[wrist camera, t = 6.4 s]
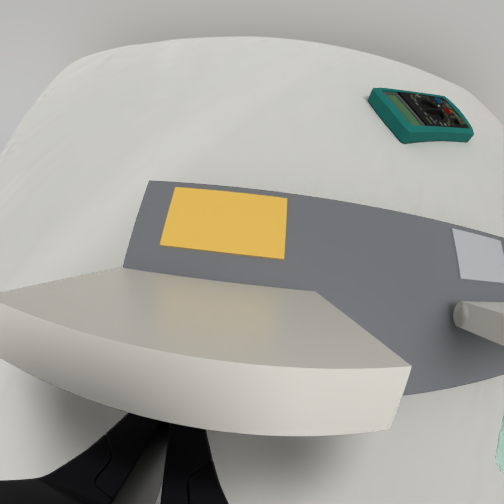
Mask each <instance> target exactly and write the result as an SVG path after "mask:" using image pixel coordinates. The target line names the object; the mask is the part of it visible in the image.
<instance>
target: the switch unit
mask: <svg viewBox="0 0 504 504" xmlns="http://www.w3.org/2000/svg"><path fill="white" fill-rule="evenodd" d="M123 268H127V269H134V270H141V271H147V272H154V273H161V274H169V275H176V276H183V277H191V278H199V279H206V280H214V281H223V282H231V283H240V284H248V285H257V286H266V287H276V288H286V289H296V290H306V291H315V292H317V293H318V294H319V295H321V296H322V297H323V298H325V299H326V300H327V301H329V302H330V303H331V304H332V305H334V306H335V307H336V308H338V309H339V310H340V311H342V312H343V313H344V314H345V315H347V316H348V317H349V318H351V319H352V320H353V321H354V322H356V323H357V324H358V325H360V326H361V327H362V328H364V329H365V330H366V331H367V332H369V333H370V334H371V335H373V336H374V337H375V338H376V339H378V340H379V341H380V342H382V343H383V344H384V345H385V346H387V347H388V348H389V349H391V350H392V351H393V352H394V353H396V354H397V355H398V356H400V357H401V358H402V359H403V360H405V361H406V362H407V363H409V364H410V365H411V366H412V367H411V371H410V374H409V377H408V380H407V383H406V386H405V389H404V392H403V395H411V394H418V393H424V392H431V391H436V390H442V389H447V388H452V387H457V386H461V385H466V384H470V383H474V382H478V381H482V380H486V379H490V378H493V377H497V376H500V375H503V374H504V346H502V345H500V344H497V343H495V342H493V341H490V340H488V339H486V338H483V337H481V336H479V335H476V334H474V333H472V332H469V331H467V330H465V329H462V328H460V327H457V326H455V323H454V320H453V312H454V309H455V307H456V305H457V304H458V303H459V302H460V301H474V302H504V238H502V237H499V236H495V235H492V234H488V233H485V232H481V231H477V230H474V229H470V228H466V227H462V226H458V225H454V224H450V223H446V222H442V221H438V220H434V219H429V218H425V217H420V216H416V215H411V214H406V213H402V212H397V211H392V210H387V209H382V208H377V207H371V206H366V205H360V204H355V203H349V202H343V201H337V200H331V199H324V198H318V197H311V196H304V195H297V194H290V193H282V192H274V191H266V190H258V189H249V188H239V187H230V186H219V185H208V184H195V183H182V182H166V181H149V183H148V186H147V188H146V191H145V194H144V197H143V200H142V203H141V206H140V209H139V212H138V215H137V219H136V222H135V225H134V228H133V232H132V235H131V239H130V242H129V246H128V249H127V253H126V257H125V261H124V265H123ZM403 395H402V396H403Z"/></svg>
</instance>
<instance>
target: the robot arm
mask: <svg viewBox="0 0 504 504" xmlns="http://www.w3.org/2000/svg"><path fill="white" fill-rule="evenodd" d="M162 480H163V484H162V494H161V504H229V503H228V501H227V499H226V497H225V495H224V493H223V490H222V488H221V485H220V483H219V480H218V476H217V473H216V470H215V466H214V462H213V459H212V454H211V450H210V446H209V442H208V437H207V433H206V429H201V428H195V427H189V426H184V425H179V424H174V423H169V422H164V421H160V420H156V419H151V418H147V417H143V416H140V415H136V414H132V413H128V414H127V415H126V416H124V417H123V418H122V419H121V420H120V421H119V422H118V423H117V424H116V425H115V426H114V427H112V428H111V429H110V430H109V431H108V432H107V433H106V435H103V436H102V437H101V438H100V439H99V440H98V441H97V442H96V443H94V444H93V445H92V446H91V447H89V448H88V449H87V450H86V451H84V452H83V453H81V454H80V455H78V456H77V457H76V458H74V459H72V460H71V461H69V462H68V463H66V464H65V465H63V466H61V467H60V468H58V469H57V470H55V471H53V472H52V473H50V474H48V475H46V476H43V477H40V478H34V479H24V480H6V481H0V504H155V503H156V499H157V496H158V493H159V490H160V486H161V483H162Z"/></svg>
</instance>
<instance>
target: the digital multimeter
mask: <svg viewBox="0 0 504 504" xmlns="http://www.w3.org/2000/svg"><path fill="white" fill-rule="evenodd" d="M368 101H369V103H370V104H371V105H372V107H373V108H374V110H375V111H376V112H377V114H378V115H379V116H380V118H381V119H382V120H383V121H384V123H385V124H386V125H387V126H388V127H389V129H390V130H391V131H392V132H393V133H394V134H395V136H396V137H397V138H398V139H399V140H400V141H401V142H402V143H413V142H423V141H459V142H468V141H469V140H470V139H471V137H472V136H473V135H474V132H473V129H472V127H471V125H470V124H469V122H468V121H467V119H466V118H465V117H464V115H463V114H462V113H461V112H460V110H459V109H458V108H457V107H456V106H455V105H454V104H453V103H452V102H451V101H450V100H449V99H447V98H446V97H444V96H440V95H433V94H426V93H418V92H411V91H403V90H396V89H387V88H373V89H372V92H371V94H370V96H369V99H368ZM437 126H438V127H437Z"/></svg>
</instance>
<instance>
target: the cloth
mask: <svg viewBox="0 0 504 504" xmlns="http://www.w3.org/2000/svg"><path fill="white" fill-rule="evenodd" d="M495 458H496V462H497V465H498V466H499V469H500V471H501V470H502V472H503V471H504V416H503V420H502V427H501V430H500V432H499V439H498V446H497V450H496V457H495Z"/></svg>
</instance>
